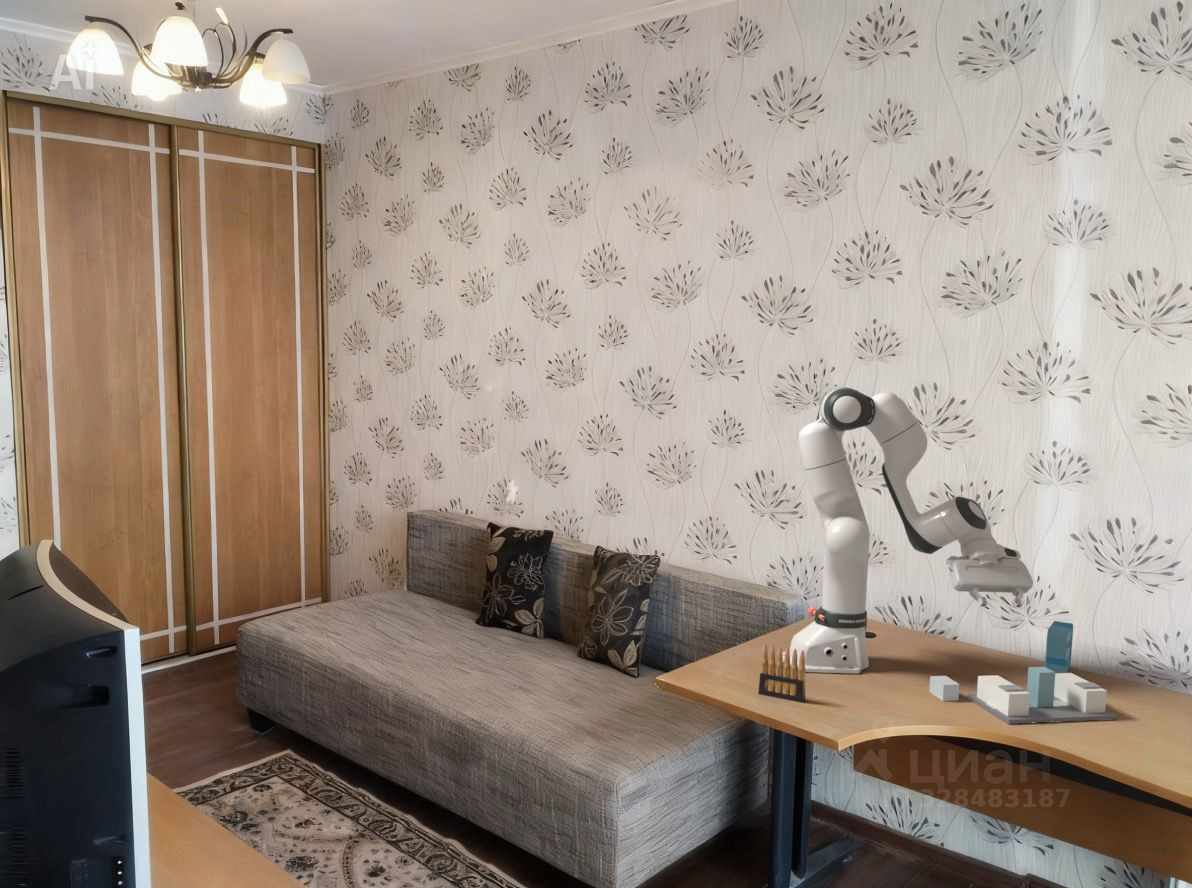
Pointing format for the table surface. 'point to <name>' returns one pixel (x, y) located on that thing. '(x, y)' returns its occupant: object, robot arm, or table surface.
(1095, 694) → the block
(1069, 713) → the rail board
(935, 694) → the block
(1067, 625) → the data package
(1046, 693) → the block
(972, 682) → the table surface
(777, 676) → the ammunition clip
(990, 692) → the block
